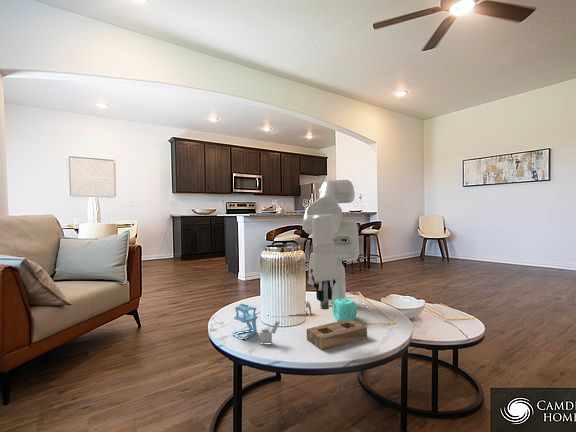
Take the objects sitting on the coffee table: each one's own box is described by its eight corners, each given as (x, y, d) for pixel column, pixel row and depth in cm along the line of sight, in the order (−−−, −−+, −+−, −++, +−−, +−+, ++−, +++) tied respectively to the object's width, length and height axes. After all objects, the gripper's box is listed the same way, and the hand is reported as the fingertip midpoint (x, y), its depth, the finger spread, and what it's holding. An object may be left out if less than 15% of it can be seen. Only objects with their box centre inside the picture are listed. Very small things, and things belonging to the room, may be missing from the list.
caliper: (310, 313, 140) (310, 300, 140) (311, 314, 139) (310, 300, 139) (267, 315, 139) (266, 301, 139) (267, 316, 138) (266, 302, 138)
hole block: (306, 339, 111) (306, 328, 111) (350, 328, 119) (349, 318, 119) (321, 350, 102) (321, 338, 102) (367, 337, 111) (366, 327, 111)
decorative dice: (339, 323, 126) (339, 304, 126) (332, 317, 134) (332, 299, 134) (357, 321, 128) (356, 302, 128) (349, 315, 136) (348, 297, 135)
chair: (260, 334, 117) (260, 303, 117) (243, 340, 111) (242, 308, 111) (249, 329, 122) (248, 299, 122) (231, 335, 117) (231, 304, 117)
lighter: (260, 344, 108) (259, 322, 108) (260, 342, 109) (260, 320, 109) (279, 344, 107) (279, 322, 107) (280, 342, 109) (279, 320, 109)
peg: (318, 307, 109) (318, 280, 109) (325, 306, 110) (325, 279, 110) (323, 310, 106) (322, 281, 106) (330, 308, 107) (329, 280, 107)
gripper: (335, 246, 115) (336, 294, 115) (298, 249, 108) (299, 300, 108) (347, 248, 108) (349, 298, 108) (308, 252, 101) (310, 306, 101)
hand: (324, 299), depth 108 cm, fingers closed on peg, 3 cm apart
